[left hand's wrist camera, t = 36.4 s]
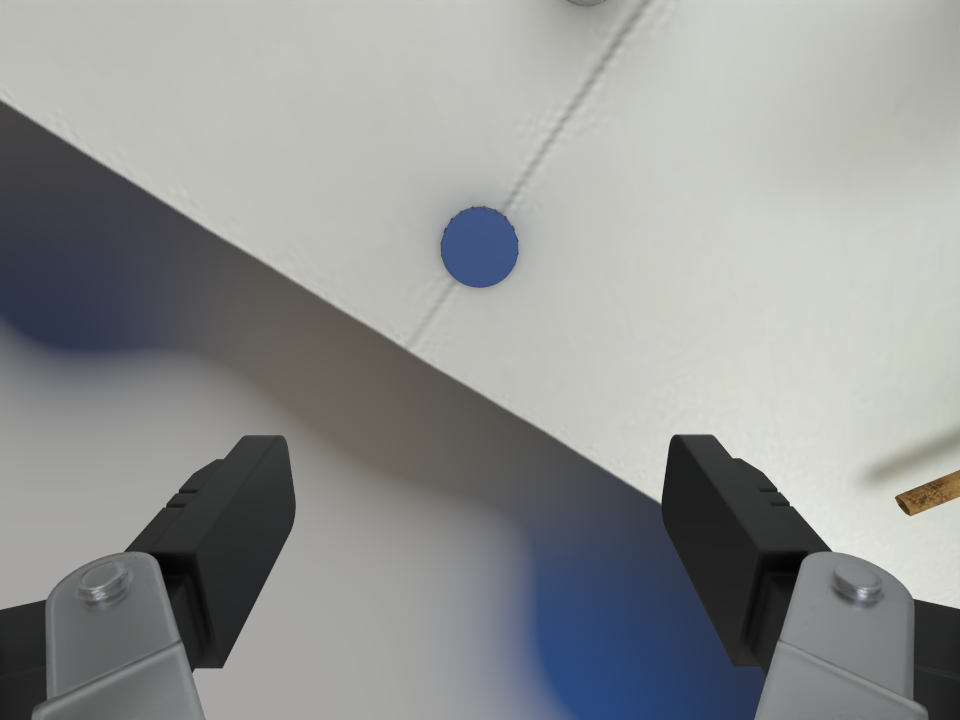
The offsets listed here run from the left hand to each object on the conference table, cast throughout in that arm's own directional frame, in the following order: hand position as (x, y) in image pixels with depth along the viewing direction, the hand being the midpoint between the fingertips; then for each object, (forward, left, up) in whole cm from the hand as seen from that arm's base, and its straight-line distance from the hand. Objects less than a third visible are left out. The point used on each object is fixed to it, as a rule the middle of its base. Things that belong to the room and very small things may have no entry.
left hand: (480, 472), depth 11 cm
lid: (0, 0, -28) cm, 28 cm away
